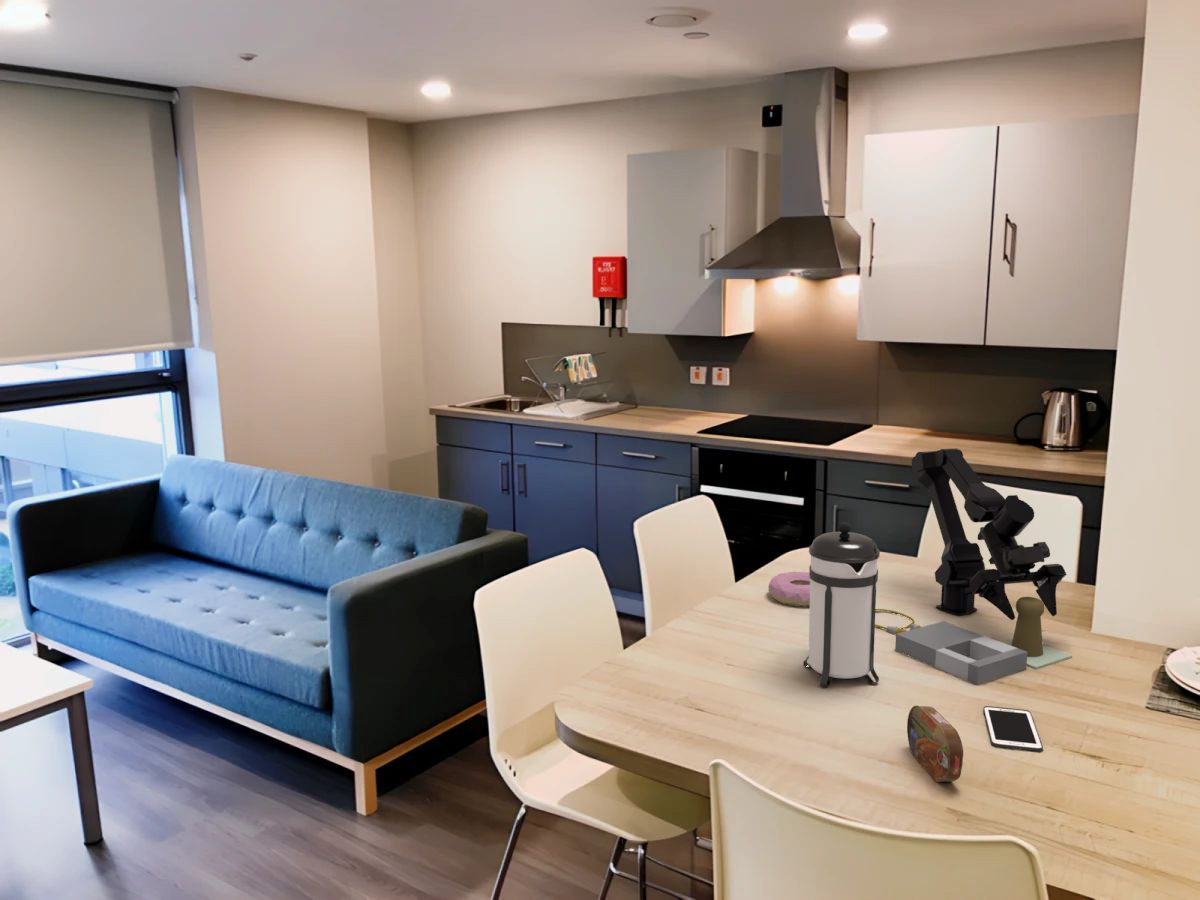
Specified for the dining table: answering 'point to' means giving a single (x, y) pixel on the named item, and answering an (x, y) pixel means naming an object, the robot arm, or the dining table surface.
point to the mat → (1044, 657)
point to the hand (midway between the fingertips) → (1034, 617)
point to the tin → (935, 743)
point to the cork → (1029, 626)
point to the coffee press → (842, 605)
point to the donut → (791, 588)
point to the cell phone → (1012, 729)
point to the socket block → (961, 652)
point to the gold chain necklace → (895, 629)
